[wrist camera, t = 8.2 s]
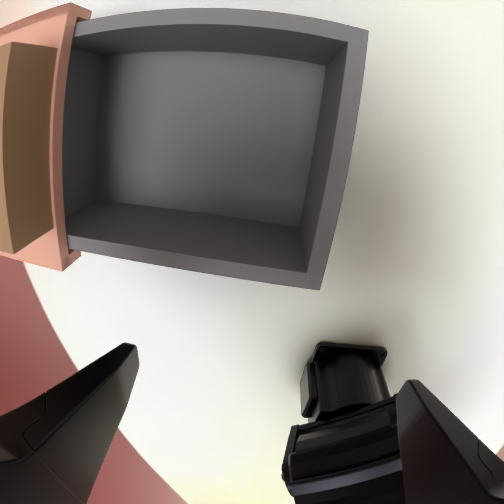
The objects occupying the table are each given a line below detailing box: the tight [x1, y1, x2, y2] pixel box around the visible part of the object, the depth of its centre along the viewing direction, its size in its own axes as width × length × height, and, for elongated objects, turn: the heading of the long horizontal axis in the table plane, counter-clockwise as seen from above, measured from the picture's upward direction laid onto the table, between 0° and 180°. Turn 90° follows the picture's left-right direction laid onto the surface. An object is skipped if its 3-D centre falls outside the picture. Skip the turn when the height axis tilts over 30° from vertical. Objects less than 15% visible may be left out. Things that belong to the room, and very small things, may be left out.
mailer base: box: [62, 8, 369, 290], centre depth 15 cm, size 16×12×7 cm
